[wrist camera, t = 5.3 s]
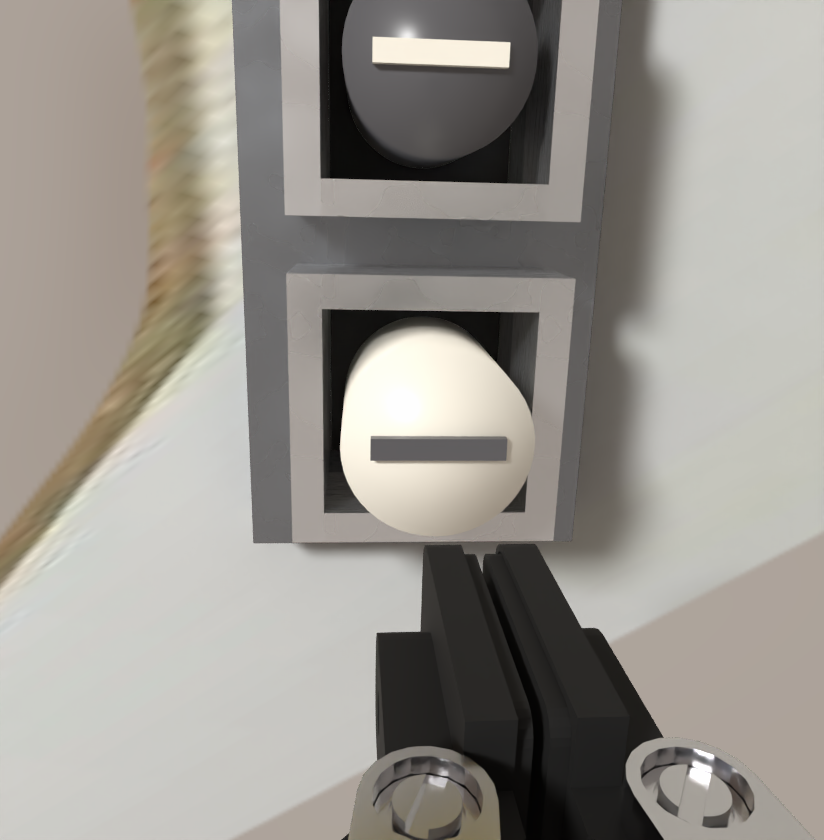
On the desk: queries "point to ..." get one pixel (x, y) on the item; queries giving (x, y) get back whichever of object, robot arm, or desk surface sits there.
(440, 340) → the knob ivory
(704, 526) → the desk surface
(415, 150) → the knob black
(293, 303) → the mount
